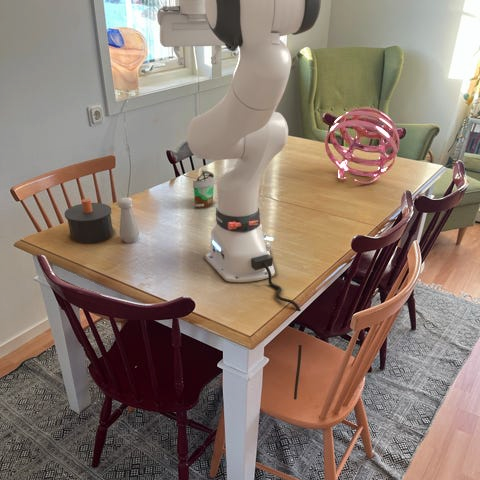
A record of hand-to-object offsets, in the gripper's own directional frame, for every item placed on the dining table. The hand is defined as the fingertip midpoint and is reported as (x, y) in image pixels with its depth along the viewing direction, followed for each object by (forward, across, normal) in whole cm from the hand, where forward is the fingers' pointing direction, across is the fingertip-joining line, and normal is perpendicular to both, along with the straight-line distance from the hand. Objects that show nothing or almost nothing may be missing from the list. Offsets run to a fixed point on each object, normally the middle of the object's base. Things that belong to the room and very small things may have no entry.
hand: (198, 64), depth 135 cm
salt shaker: (+46, -25, -12) cm, 54 cm away
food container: (+46, +3, +10) cm, 47 cm away
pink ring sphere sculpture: (+45, +68, +22) cm, 85 cm away
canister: (+46, -36, -6) cm, 59 cm away
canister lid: (+38, -36, -6) cm, 53 cm away
